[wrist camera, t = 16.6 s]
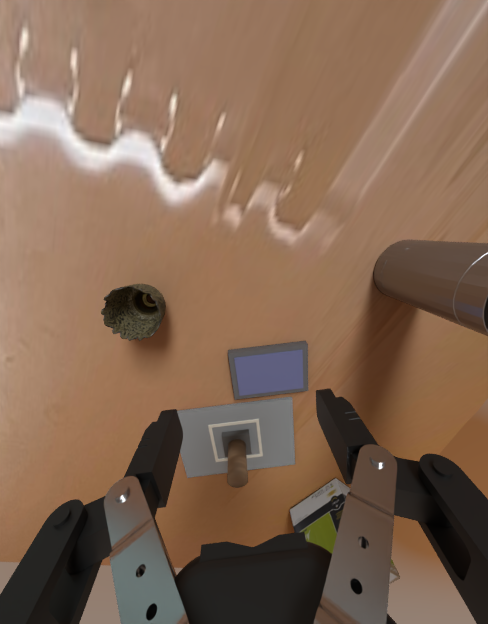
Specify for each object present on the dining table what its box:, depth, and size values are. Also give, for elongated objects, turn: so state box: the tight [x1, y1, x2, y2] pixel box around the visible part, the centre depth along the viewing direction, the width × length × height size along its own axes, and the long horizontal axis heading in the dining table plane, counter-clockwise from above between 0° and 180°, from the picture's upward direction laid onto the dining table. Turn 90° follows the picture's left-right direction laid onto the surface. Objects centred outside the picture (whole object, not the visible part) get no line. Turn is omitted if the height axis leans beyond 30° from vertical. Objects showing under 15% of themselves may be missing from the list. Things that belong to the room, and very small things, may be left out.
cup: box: [101, 284, 166, 341], centre depth 33 cm, size 8×7×8 cm
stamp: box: [222, 429, 252, 488], centre depth 43 cm, size 6×6×8 cm
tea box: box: [290, 478, 400, 584], centre depth 49 cm, size 15×10×15 cm, turn 136°
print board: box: [177, 397, 295, 478], centre depth 47 cm, size 24×18×1 cm
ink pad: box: [228, 341, 308, 400], centre depth 41 cm, size 14×10×2 cm
